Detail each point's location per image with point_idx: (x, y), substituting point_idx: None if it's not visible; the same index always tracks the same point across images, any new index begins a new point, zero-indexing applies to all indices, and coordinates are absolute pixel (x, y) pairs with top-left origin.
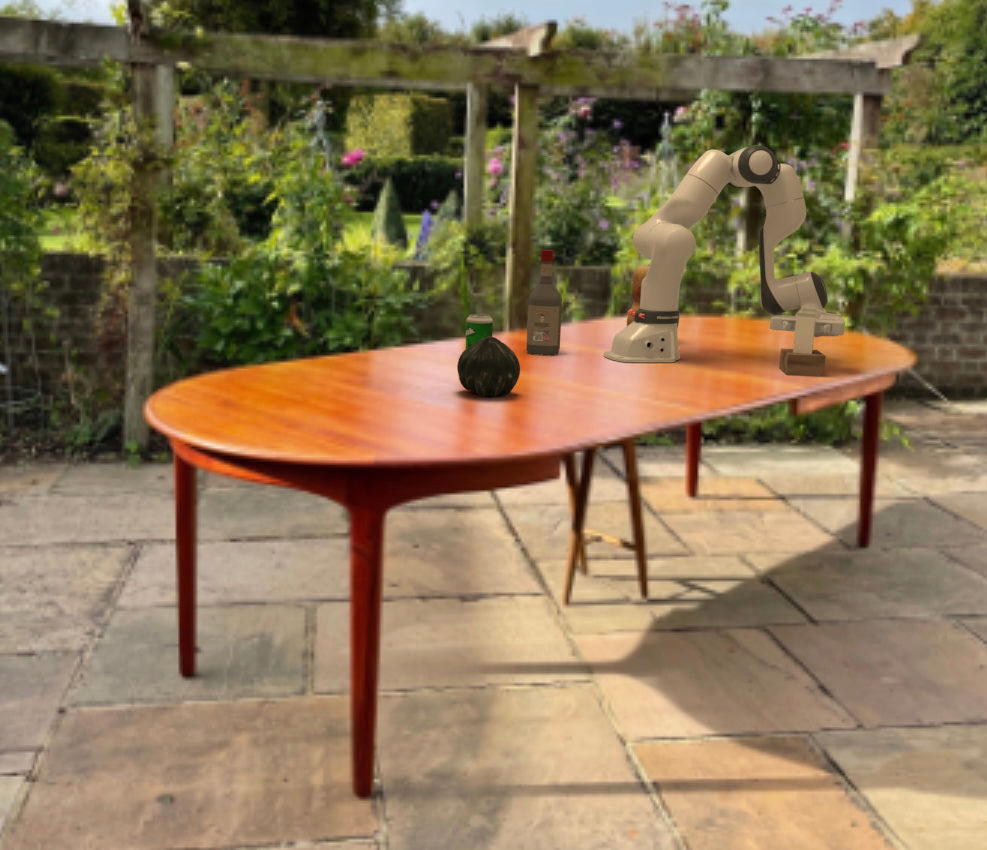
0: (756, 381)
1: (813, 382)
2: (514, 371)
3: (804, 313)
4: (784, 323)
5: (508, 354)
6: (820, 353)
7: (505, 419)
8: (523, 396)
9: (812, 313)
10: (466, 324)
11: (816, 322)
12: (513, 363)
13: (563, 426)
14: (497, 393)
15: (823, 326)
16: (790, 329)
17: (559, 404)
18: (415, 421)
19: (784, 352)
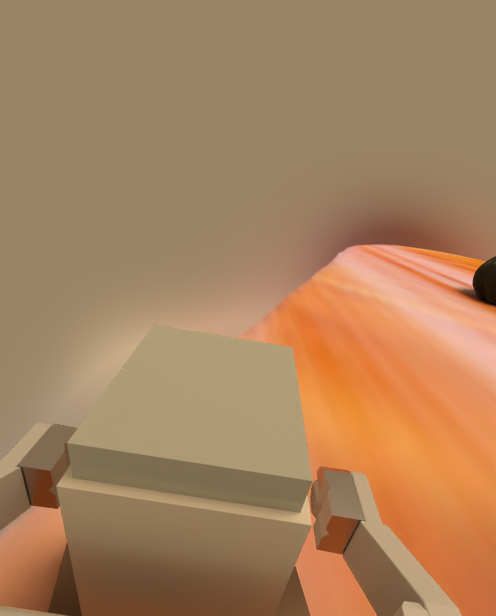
0: (313, 396)
1: None
2: (476, 272)
3: (235, 339)
4: (399, 550)
5: (490, 259)
6: (69, 579)
7: (410, 268)
8: (468, 298)
9: (163, 345)
10: None
11: (21, 610)
12: (482, 266)
13: (372, 261)
14: (474, 289)
15: (58, 426)
16: (315, 533)
17: (422, 286)
18: (440, 266)
19: (294, 574)
